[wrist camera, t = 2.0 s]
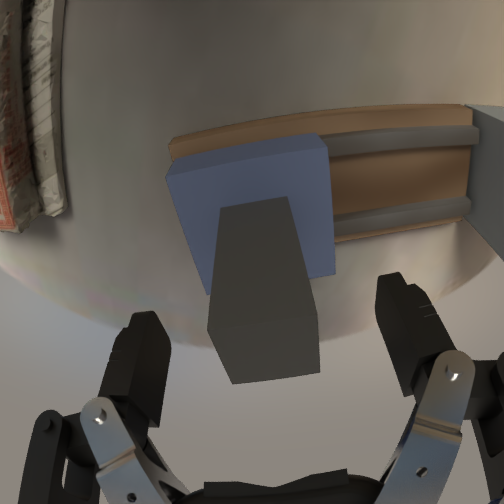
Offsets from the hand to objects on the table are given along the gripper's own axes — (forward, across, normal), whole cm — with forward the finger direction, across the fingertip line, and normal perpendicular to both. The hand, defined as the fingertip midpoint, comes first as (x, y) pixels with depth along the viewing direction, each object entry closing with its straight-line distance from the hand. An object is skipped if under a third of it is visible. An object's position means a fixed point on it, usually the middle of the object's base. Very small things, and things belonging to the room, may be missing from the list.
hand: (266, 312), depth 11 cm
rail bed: (+10, -5, 0) cm, 11 cm away
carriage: (+7, 0, 0) cm, 7 cm away
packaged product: (+10, +15, -12) cm, 21 cm away
